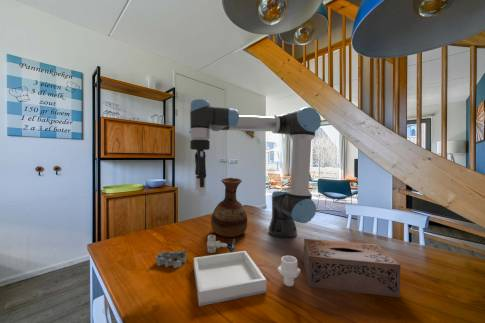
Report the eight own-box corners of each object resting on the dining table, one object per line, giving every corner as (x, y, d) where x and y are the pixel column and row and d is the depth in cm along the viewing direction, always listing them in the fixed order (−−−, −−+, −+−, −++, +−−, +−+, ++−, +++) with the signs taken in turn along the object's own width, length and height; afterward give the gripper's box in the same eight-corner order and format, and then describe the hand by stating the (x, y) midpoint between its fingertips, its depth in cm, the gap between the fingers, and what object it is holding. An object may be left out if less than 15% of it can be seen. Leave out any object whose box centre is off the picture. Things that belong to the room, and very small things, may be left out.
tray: (245, 260, 81) (245, 250, 81) (266, 292, 62) (266, 279, 62) (193, 268, 75) (193, 257, 75) (199, 306, 56) (199, 292, 56)
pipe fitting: (301, 290, 63) (302, 264, 63) (278, 288, 64) (278, 263, 64) (298, 278, 69) (299, 255, 69) (277, 276, 70) (277, 253, 70)
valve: (204, 254, 86) (231, 257, 84) (204, 238, 86) (231, 241, 84) (210, 247, 93) (235, 250, 90) (210, 233, 93) (235, 235, 90)
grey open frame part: (188, 260, 81) (188, 250, 81) (177, 270, 74) (177, 259, 74) (165, 256, 84) (165, 246, 84) (153, 265, 77) (153, 255, 77)
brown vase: (212, 241, 99) (213, 180, 98) (209, 227, 118) (209, 176, 118) (251, 238, 103) (252, 179, 103) (242, 225, 123) (242, 175, 122)
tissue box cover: (308, 287, 65) (309, 256, 65) (303, 264, 79) (304, 238, 79) (399, 298, 60) (400, 264, 60) (377, 271, 74) (377, 244, 74)
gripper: (189, 141, 92) (189, 188, 93) (191, 136, 68) (191, 199, 69) (206, 142, 95) (206, 187, 95) (214, 137, 71) (214, 198, 71)
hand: (200, 192), depth 82 cm, fingers open, 13 cm apart
